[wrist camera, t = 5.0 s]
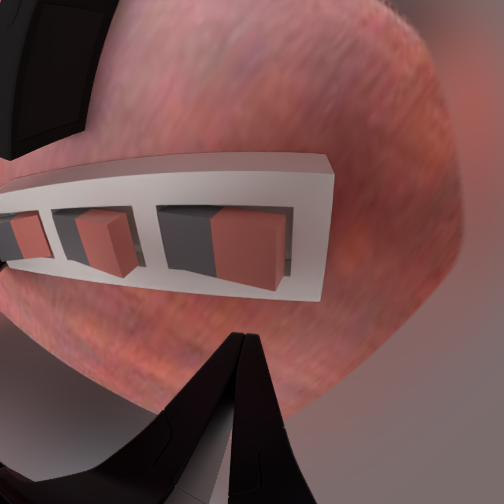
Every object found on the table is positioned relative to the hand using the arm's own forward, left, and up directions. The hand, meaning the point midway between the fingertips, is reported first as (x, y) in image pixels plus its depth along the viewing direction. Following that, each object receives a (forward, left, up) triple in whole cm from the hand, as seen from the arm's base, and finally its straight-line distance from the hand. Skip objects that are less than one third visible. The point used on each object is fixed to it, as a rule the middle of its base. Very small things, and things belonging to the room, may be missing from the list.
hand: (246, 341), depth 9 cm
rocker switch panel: (-12, 0, -10) cm, 15 cm away
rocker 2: (-10, 0, -6) cm, 12 cm away
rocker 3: (-2, 0, -6) cm, 7 cm away
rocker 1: (-18, 0, -6) cm, 19 cm away
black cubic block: (-13, +12, -10) cm, 20 cm away
